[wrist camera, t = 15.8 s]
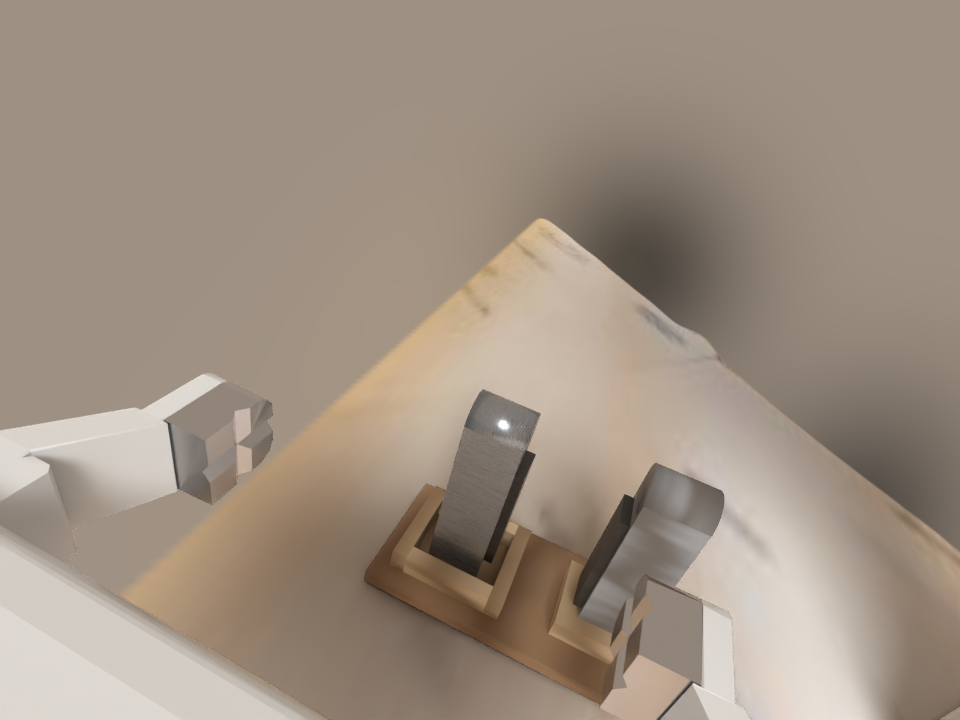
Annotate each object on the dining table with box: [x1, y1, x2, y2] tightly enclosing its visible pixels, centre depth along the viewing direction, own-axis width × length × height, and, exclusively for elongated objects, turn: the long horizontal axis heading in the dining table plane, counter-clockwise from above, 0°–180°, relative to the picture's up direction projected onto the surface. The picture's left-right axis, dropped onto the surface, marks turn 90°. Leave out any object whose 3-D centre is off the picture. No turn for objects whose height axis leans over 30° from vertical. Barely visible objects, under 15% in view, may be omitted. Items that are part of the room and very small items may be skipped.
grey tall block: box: [428, 389, 540, 578], centre depth 33 cm, size 4×3×14 cm
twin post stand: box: [364, 463, 724, 704], centre depth 33 cm, size 18×9×14 cm, turn 69°
